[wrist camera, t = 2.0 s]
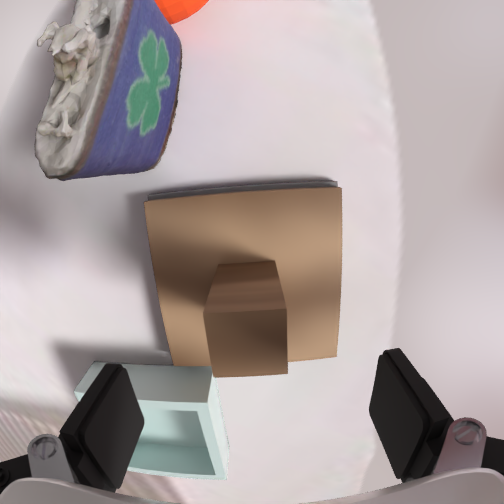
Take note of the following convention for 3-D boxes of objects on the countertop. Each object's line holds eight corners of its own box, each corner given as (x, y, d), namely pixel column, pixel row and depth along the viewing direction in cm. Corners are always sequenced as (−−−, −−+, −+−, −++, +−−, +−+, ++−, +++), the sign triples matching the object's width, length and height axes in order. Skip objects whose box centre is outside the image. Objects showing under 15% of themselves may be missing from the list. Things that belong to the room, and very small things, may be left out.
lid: (148, 200, 17) (93, 221, 10) (337, 186, 17) (387, 200, 10) (176, 359, 20) (152, 429, 13) (333, 350, 20) (361, 419, 13)
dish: (94, 361, 21) (73, 391, 17) (213, 365, 21) (207, 402, 17) (129, 439, 24) (118, 468, 20) (229, 446, 24) (227, 479, 20)
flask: (149, 33, 14) (68, -56, 4) (193, 34, 15) (141, -74, 4) (121, 170, 17) (-2, 188, 7) (166, 175, 17) (64, 194, 7)
